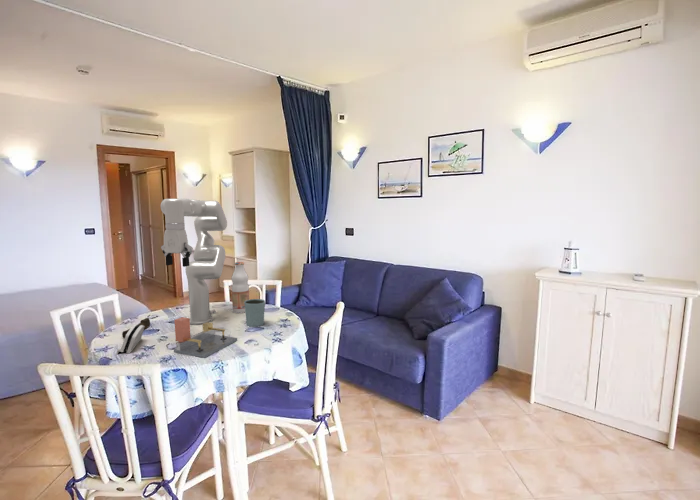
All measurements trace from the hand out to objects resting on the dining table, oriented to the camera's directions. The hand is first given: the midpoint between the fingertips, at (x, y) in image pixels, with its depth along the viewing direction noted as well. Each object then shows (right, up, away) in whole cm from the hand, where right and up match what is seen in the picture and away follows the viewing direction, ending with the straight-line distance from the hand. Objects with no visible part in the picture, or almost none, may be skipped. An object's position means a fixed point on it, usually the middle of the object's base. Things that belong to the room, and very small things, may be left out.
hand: (177, 265), depth 164 cm
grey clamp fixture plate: (+15, -34, -6) cm, 38 cm away
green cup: (+29, -31, +23) cm, 48 cm away
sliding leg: (+11, -33, -12) cm, 37 cm away
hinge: (-17, -35, -6) cm, 39 cm away
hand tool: (-25, -33, +12) cm, 43 cm away
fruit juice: (+15, -28, +46) cm, 56 cm away
